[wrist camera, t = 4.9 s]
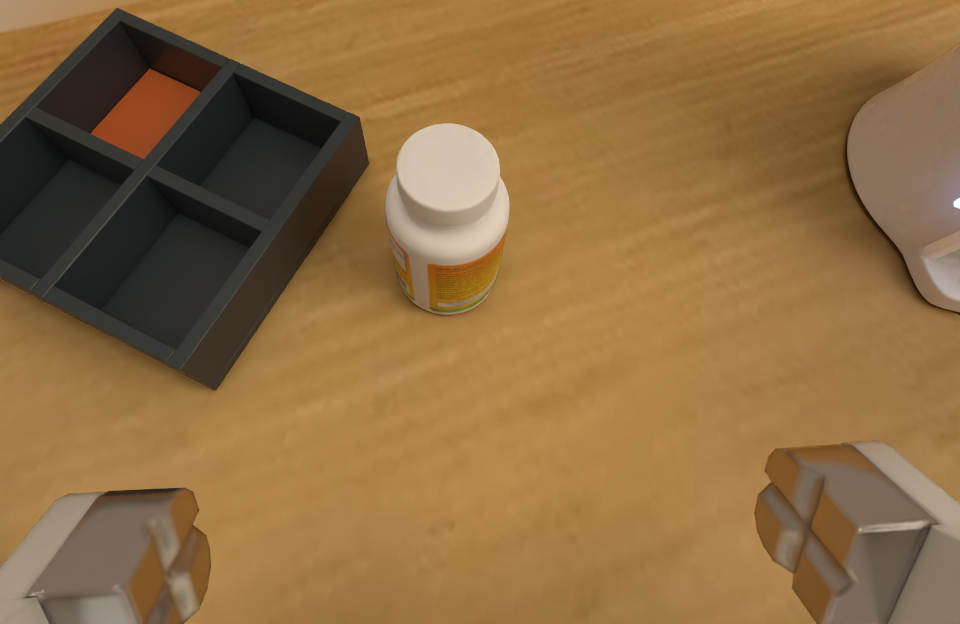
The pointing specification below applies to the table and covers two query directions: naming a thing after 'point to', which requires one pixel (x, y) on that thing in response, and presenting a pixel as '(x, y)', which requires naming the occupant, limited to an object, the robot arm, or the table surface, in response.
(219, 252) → the black compartment tray
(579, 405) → the table surface
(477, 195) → the supplement bottle
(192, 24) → the table surface
